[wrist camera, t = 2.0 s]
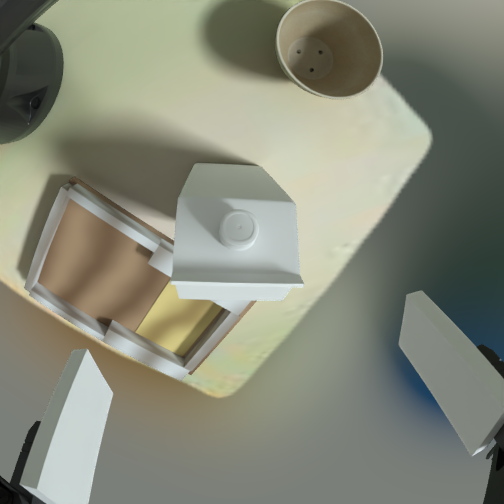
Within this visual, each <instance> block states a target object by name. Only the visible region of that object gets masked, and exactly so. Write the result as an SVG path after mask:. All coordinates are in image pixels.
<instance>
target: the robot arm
mask: <svg viewBox="0 0 504 504" xmlns="http://www.w3.org/2000/svg"><path fill="white" fill-rule="evenodd" d="M57 1H58V0H0V144H6V143H10V142H15V141H18V140H20V139H22V138H24V137H26V136H27V135H29V134H30V133H31V132H33V131H34V130H35V129H36V128H37V127H38V126H39V125H40V124H41V123H42V121H43V120H44V119H45V117H46V116H47V114H48V113H49V111H50V110H51V108H52V106H53V104H54V102H55V100H56V97H57V95H58V92H59V89H60V85H61V81H62V76H63V53H62V48H61V45H60V43H59V40H58V39H57V37H56V36H55V34H54V33H53V32H52V31H51V30H49V29H48V28H46V27H44V26H42V25H40V24H37V23H34V21H35V20H36V19H38V18H39V17H40V16H41V15H42V14H43V13H44V12H45V11H47V10H48V9H49V8H50V7H51V6H52V5H54V4H55V3H56V2H57ZM399 346H400V348H401V349H402V350H403V352H404V353H405V355H406V356H407V358H408V359H409V360H410V362H411V363H412V365H413V366H414V368H415V369H416V371H417V372H418V374H419V375H420V377H421V378H422V380H423V381H424V382H425V384H426V386H427V387H428V389H429V390H430V392H431V393H432V395H433V396H434V398H435V399H436V401H437V402H438V404H439V405H440V407H441V408H442V410H443V411H444V413H445V415H446V416H447V418H448V419H449V421H450V423H451V424H452V426H453V427H454V429H455V431H456V432H457V434H458V435H459V437H460V439H461V440H462V442H463V444H464V445H465V447H466V449H467V450H468V452H469V454H470V455H471V456H473V455H475V454H476V453H478V452H480V451H481V450H483V449H484V448H486V447H487V446H488V445H489V444H490V442H491V441H492V440H493V438H494V439H495V440H496V442H497V443H496V444H495V446H494V447H493V448H492V449H491V450H490V452H489V453H488V454H487V457H486V459H489V458H490V456H491V455H492V454H493V458H492V465H491V470H490V475H489V480H488V485H487V489H486V494H485V498H484V502H483V504H504V362H503V361H501V359H500V358H499V357H498V356H497V354H496V353H495V352H494V351H493V350H491V349H489V348H488V347H486V346H484V345H479V346H477V347H475V345H474V344H473V343H472V342H471V341H470V340H469V339H468V338H467V337H466V336H465V335H464V334H463V332H462V331H461V330H460V329H459V328H458V327H457V326H456V325H455V324H454V323H453V322H452V321H451V320H450V319H449V318H448V317H447V316H446V315H445V314H444V313H443V312H442V311H441V309H439V308H438V307H437V305H436V304H435V303H433V301H431V299H430V298H429V297H428V296H426V294H424V293H423V292H422V291H417V292H414V293H410V294H407V296H406V303H405V309H404V316H403V322H402V328H401V334H400V340H399ZM112 396H113V392H112V391H111V389H110V387H109V386H108V384H107V382H106V381H105V379H104V378H103V376H102V374H101V372H100V371H99V369H98V367H97V365H96V363H95V362H94V360H93V358H92V357H91V354H90V353H89V351H88V349H79V350H73V351H72V353H71V355H70V357H69V359H68V361H67V363H66V366H65V368H64V370H63V372H62V374H61V376H60V379H59V381H58V383H57V385H56V387H55V390H54V392H53V394H52V397H51V399H50V401H49V404H48V406H47V409H46V411H45V413H44V416H43V418H42V421H36V422H35V424H34V425H33V426H32V427H31V428H30V430H29V431H28V434H27V437H26V439H25V443H24V444H23V447H22V452H20V455H19V458H18V461H17V464H16V467H15V470H14V473H13V476H12V479H11V481H10V483H8V482H7V481H6V480H5V479H3V478H2V477H1V476H0V504H88V503H89V497H90V491H91V486H92V480H93V476H94V471H95V466H96V461H97V457H98V452H99V448H100V443H101V439H102V435H103V431H104V426H105V423H106V419H107V415H108V411H109V407H110V404H111V399H112Z"/></svg>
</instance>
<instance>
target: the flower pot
mask: <svg viewBox="0 0 504 504" xmlns="http://www.w3.org/2000/svg"><path fill="white" fill-rule="evenodd" d="M275 51H276V56H277V59H278V62H279V64H280V66H281V68H282V70H283V71H284V73H285V74H286V76H287V77H288V78H289V79H290V80H291V81H292V82H293V83H294V84H296V85H297V86H298V87H300V88H301V89H303V90H305V91H307V92H309V93H311V94H314V95H316V96H320V97H324V98H329V99H348V98H352V97H356V96H358V95H360V94H362V93H364V92H365V91H367V90H368V89H369V88H370V87H371V86H372V85H373V84H374V83H375V81H376V80H377V78H378V76H379V74H380V71H381V68H382V63H383V50H382V46H381V42H380V39H379V36H378V34H377V32H376V30H375V28H374V27H373V25H372V24H371V23H370V22H369V20H368V19H367V18H366V17H365V16H364V15H363V14H362V13H360V12H359V11H358V10H357V9H355V8H354V7H352V6H350V5H348V4H346V3H344V2H342V1H339V0H303V1H301V2H299V3H297V4H295V5H294V6H292V7H291V8H290V9H289V10H288V11H287V12H286V13H285V14H284V15H283V17H282V18H281V20H280V22H279V25H278V28H277V31H276V36H275ZM319 51H321V52H320V53H319ZM297 52H299V53H300V54H299V53H297ZM312 69H313V71H312Z"/></svg>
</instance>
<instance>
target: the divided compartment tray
mask: <svg viewBox="0 0 504 504" xmlns="http://www.w3.org/2000/svg"><path fill="white" fill-rule="evenodd" d="M173 252H174V241H173V240H172V239H170V238H168V237H167V236H165V235H164V234H162V233H161V232H159V231H157V230H156V229H154V228H153V227H151V226H149V225H148V224H146V223H145V222H143V221H142V220H140V219H139V218H137V217H135V216H134V215H132V214H131V213H129V212H128V211H126V210H125V209H123V208H121V207H120V206H118V205H117V204H115V203H114V202H112V201H111V200H109V199H108V198H106V197H105V196H103V195H102V194H100V193H99V192H97V191H96V190H94V189H93V188H91V187H89V186H88V185H86V184H85V183H83V182H82V181H80V180H79V179H77V178H76V177H74V178H72V179H70V181H69V183H67V184H65V185H64V186H62V187H61V188H60V190H59V193H58V195H57V197H56V199H55V202H54V204H53V207H52V209H51V211H50V214H49V216H48V219H47V221H46V224H45V226H44V229H43V232H42V234H41V237H40V240H39V243H38V246H37V248H36V251H35V254H34V257H33V260H32V264H31V267H30V270H29V273H28V276H27V280H26V283H25V287H24V288H25V289H26V290H27V291H29V292H30V294H29V295H30V296H31V297H33V298H34V299H36V300H37V301H38V302H40V303H41V304H43V305H44V306H46V307H47V308H49V309H50V310H52V311H53V312H55V313H56V314H58V315H60V316H61V317H63V318H64V319H66V320H67V321H69V322H71V323H72V324H74V325H75V326H77V327H79V328H80V329H82V330H84V331H85V332H87V333H89V334H91V335H92V336H94V337H96V338H97V339H99V340H101V341H103V342H104V343H106V344H108V345H110V346H112V347H114V348H115V349H117V350H119V351H121V352H123V353H125V354H127V355H129V356H130V357H132V358H134V359H136V360H138V361H140V362H142V363H144V364H146V365H148V366H150V367H152V368H154V369H156V370H159V371H161V372H163V373H165V374H167V375H169V376H171V377H174V378H176V379H178V380H180V381H182V379H183V378H184V377H185V376H186V375H187V374H190V375H192V374H193V372H194V371H195V370H196V369H197V368H198V367H199V366H200V365H201V364H202V362H203V361H204V360H205V359H206V358H207V357H208V356H209V355H210V354H211V352H212V351H213V350H214V349H215V348H216V347H217V346H218V345H219V343H220V342H221V341H222V340H223V339H224V338H225V337H226V336H227V334H228V333H229V332H230V331H231V330H232V329H233V328H234V326H235V325H236V324H237V323H238V322H239V321H240V320H241V318H242V317H243V316H244V315H245V314H246V313H247V311H248V310H249V309H250V308H251V307H252V306H253V305H254V303H255V302H256V301H246V300H199V299H179V297H178V293H177V289H176V286H175V285H171V284H170V280H171V276H172V269H173Z"/></svg>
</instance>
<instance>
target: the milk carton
mask: <svg viewBox="0 0 504 504" xmlns="http://www.w3.org/2000/svg"><path fill="white" fill-rule="evenodd" d="M170 284H171V285H175V286H176V289H177V293H178V297H179V299H199V300H246V301H282V300H283V299H284V297H285V296H286V295H287V293H288V292H289V291H290V290H291V288H292V287H304V282H303V280H302V278H301V276H300V265H299V246H298V229H297V213H296V204H295V203H294V201H293V200H292V199H291V198H290V197H289V196H288V194H287V193H286V192H285V191H284V190H283V189H282V188H281V187H280V186H279V185H278V184H277V183H276V181H275V180H274V179H273V178H272V177H271V176H270V175H269V174H268V173H267V172H266V171H265V170H264V169H263V168H262V167H261V166H250V165H233V164H212V163H195V164H194V166H193V168H192V170H191V172H190V174H189V176H188V178H187V180H186V182H185V184H184V187H183V189H182V191H181V193H180V195H179V198H178V202H177V213H176V225H175V238H174V252H173V269H172V276H171V280H170Z"/></svg>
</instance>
